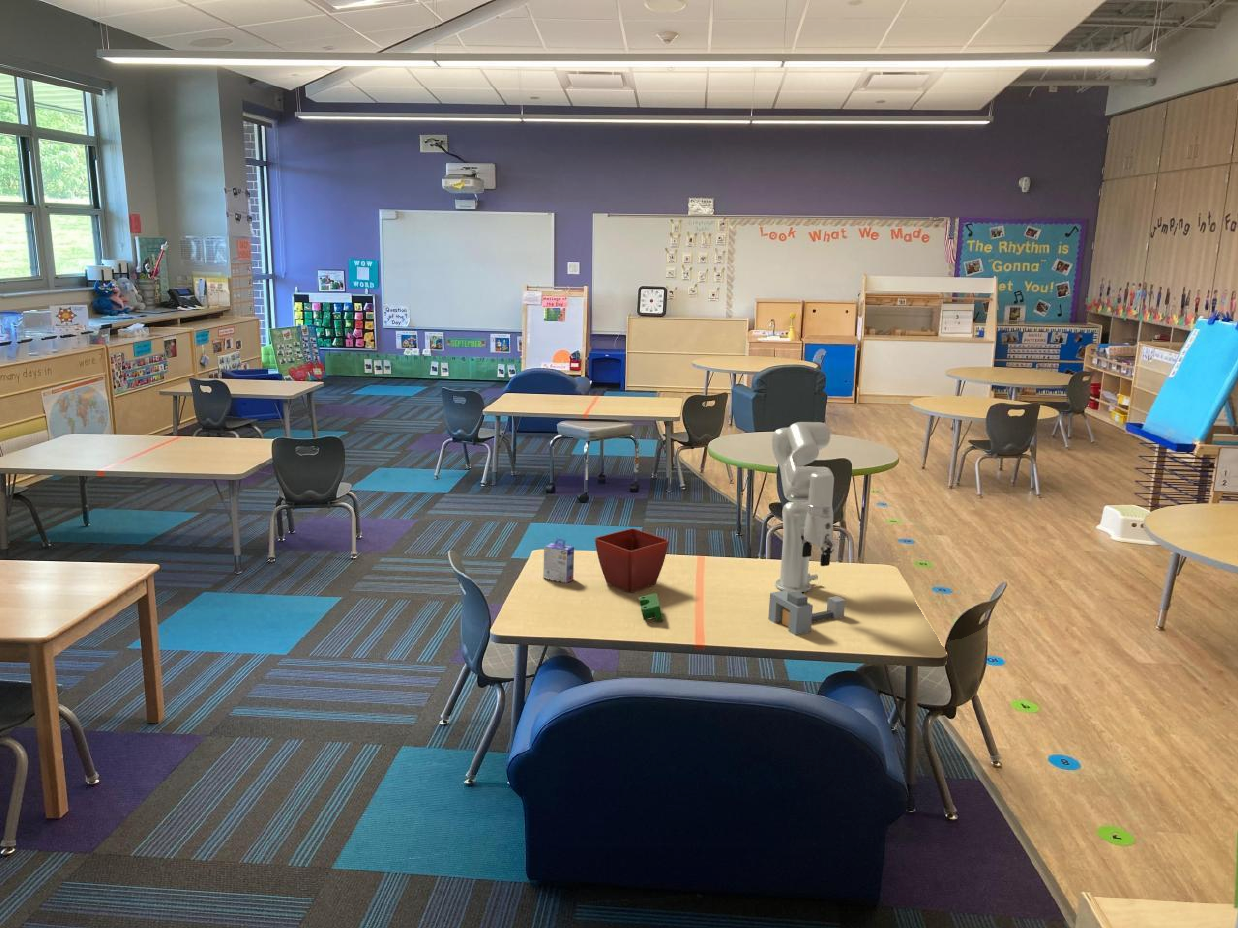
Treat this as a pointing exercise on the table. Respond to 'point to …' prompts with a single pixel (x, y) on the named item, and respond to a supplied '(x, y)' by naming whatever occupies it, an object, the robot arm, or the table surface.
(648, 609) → the clamp
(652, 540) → the plant pot
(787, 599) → the housing
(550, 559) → the ink cartridge box
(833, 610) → the cube-ended rod
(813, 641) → the table surface
